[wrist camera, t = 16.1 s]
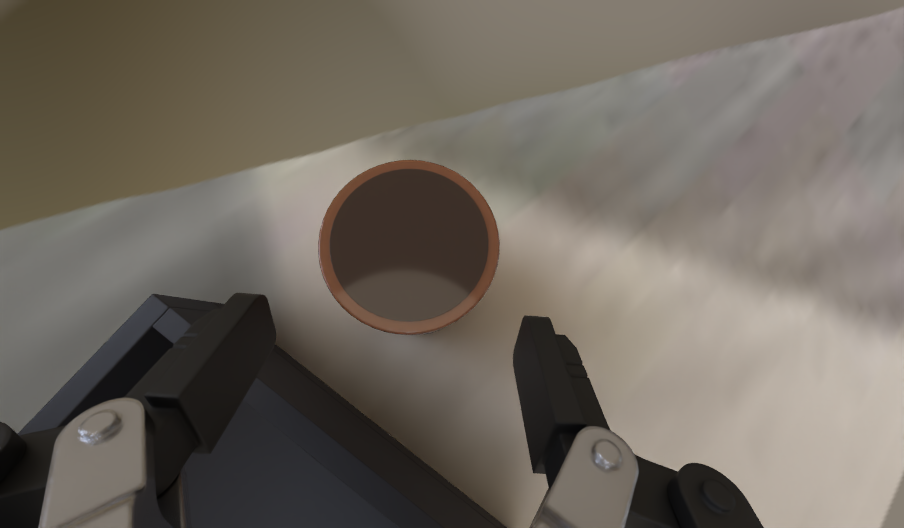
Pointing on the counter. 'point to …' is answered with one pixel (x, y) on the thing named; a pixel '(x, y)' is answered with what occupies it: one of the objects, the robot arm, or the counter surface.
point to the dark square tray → (274, 443)
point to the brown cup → (408, 247)
